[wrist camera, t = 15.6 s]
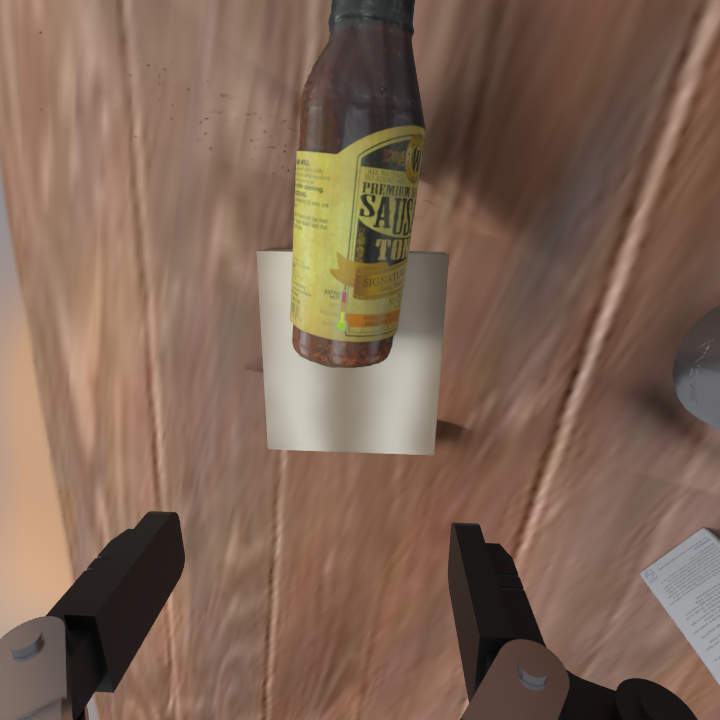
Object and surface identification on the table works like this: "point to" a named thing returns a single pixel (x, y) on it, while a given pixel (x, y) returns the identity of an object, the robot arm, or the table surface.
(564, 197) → the table surface
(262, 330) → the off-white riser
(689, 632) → the light bulb box
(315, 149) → the sauce bottle
